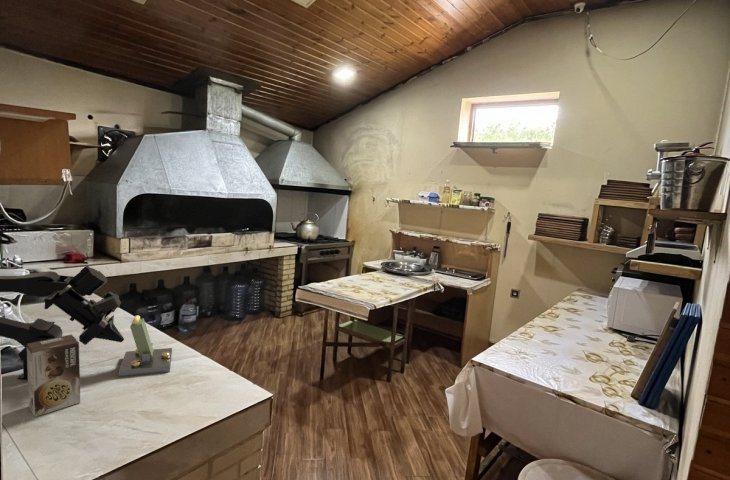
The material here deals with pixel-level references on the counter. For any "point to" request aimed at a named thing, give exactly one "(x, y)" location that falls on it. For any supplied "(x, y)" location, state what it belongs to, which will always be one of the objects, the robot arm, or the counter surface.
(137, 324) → the green lever
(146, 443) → the counter surface
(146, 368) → the base
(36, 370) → the coffee box
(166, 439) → the counter surface
